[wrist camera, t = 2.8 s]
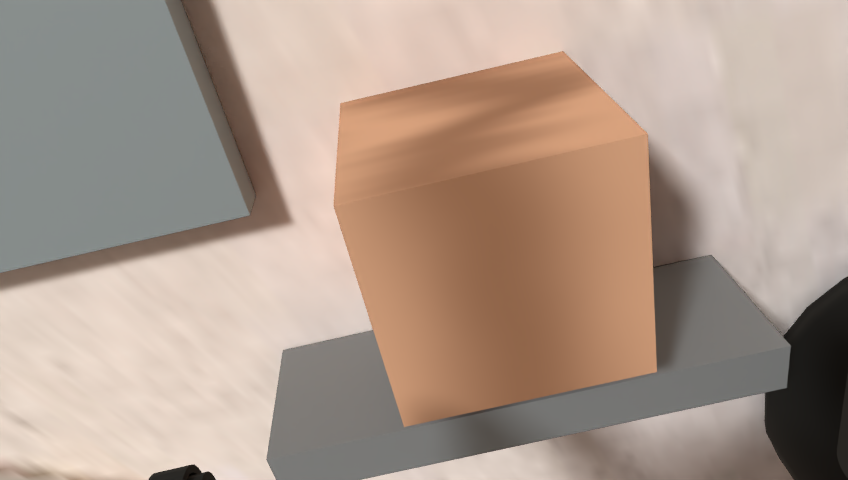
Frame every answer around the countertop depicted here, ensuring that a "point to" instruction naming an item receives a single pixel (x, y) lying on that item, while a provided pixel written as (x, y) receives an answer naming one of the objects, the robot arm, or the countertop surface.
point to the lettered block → (499, 236)
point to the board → (108, 129)
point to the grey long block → (532, 419)
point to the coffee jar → (813, 390)
